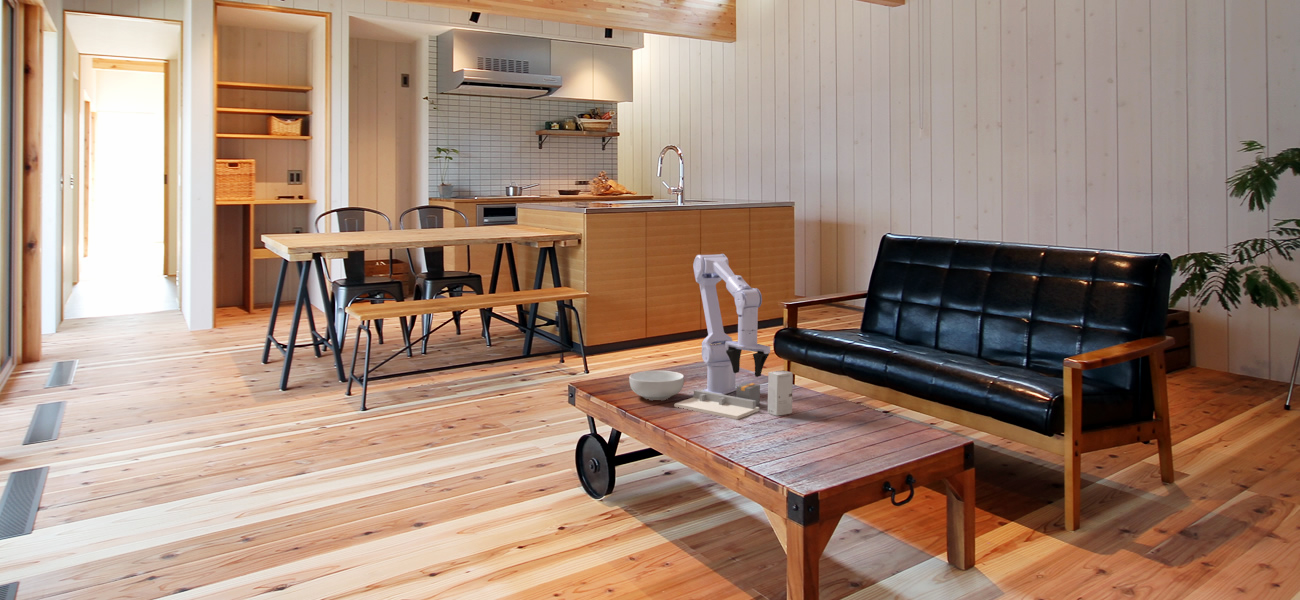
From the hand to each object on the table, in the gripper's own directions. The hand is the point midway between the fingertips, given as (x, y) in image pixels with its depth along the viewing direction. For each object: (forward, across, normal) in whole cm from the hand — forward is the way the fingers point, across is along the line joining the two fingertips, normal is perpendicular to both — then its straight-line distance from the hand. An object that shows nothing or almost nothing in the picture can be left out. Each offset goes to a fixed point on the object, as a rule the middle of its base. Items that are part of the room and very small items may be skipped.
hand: (747, 374), depth 254 cm
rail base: (+9, -5, -9) cm, 14 cm away
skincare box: (+10, +12, -2) cm, 16 cm away
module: (+10, 0, 0) cm, 10 cm away
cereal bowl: (+10, -27, -10) cm, 30 cm away
